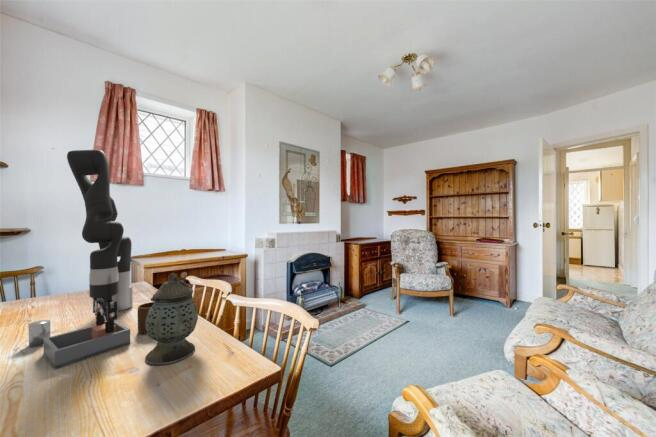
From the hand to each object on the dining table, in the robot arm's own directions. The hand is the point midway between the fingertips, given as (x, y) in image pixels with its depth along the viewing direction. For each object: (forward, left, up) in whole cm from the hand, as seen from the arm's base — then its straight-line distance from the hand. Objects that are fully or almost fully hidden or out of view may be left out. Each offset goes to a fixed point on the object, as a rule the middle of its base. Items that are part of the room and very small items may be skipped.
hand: (105, 329), depth 90 cm
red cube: (0, 0, -4) cm, 4 cm away
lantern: (-10, +25, -5) cm, 27 cm away
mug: (-14, +2, -5) cm, 15 cm away
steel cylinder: (+12, -19, -5) cm, 23 cm away
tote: (+4, 0, -5) cm, 7 cm away
